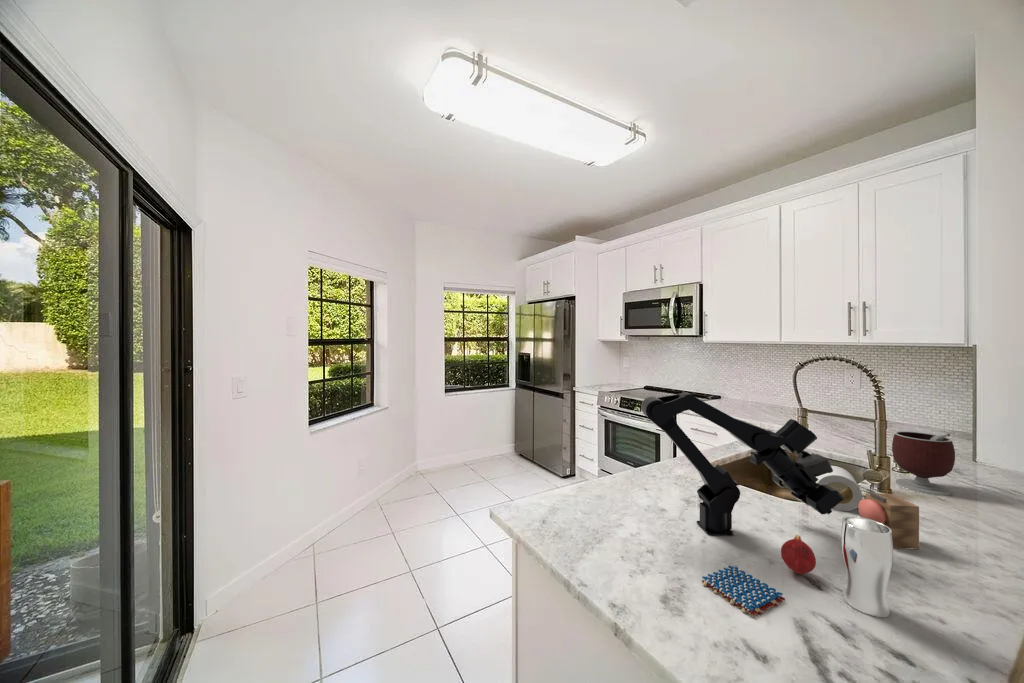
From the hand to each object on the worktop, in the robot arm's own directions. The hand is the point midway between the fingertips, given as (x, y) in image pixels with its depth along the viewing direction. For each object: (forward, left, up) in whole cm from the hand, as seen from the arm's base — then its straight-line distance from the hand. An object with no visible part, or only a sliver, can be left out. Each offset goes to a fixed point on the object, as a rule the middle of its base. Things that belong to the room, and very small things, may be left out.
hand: (829, 512), depth 92 cm
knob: (+12, -1, -2) cm, 13 cm away
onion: (-19, -15, -6) cm, 25 cm away
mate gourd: (+55, +31, -6) cm, 64 cm away
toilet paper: (+17, +19, -6) cm, 26 cm away
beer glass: (-13, -24, -6) cm, 28 cm away
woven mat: (-34, -21, -7) cm, 40 cm away
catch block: (+13, -1, -6) cm, 15 cm away
